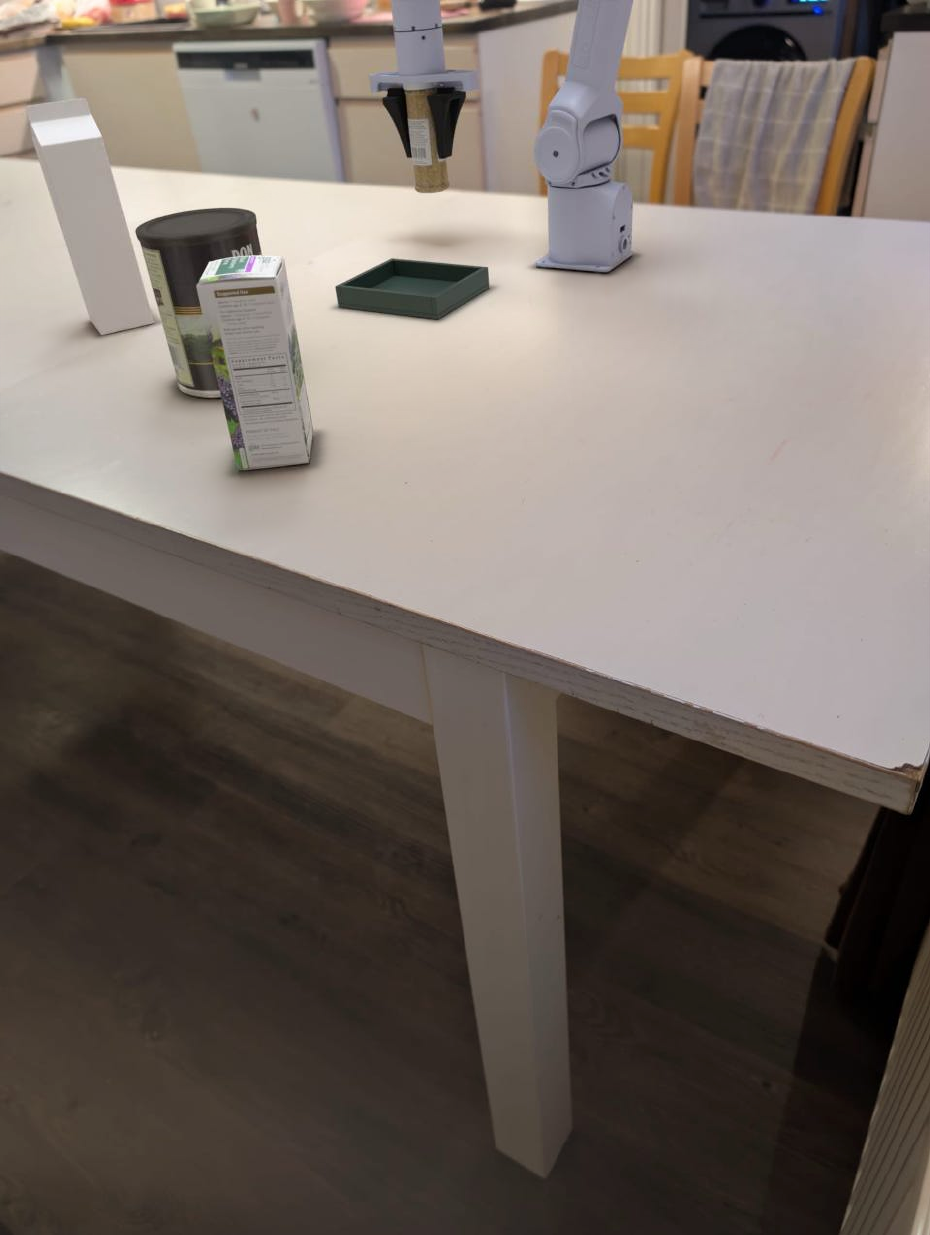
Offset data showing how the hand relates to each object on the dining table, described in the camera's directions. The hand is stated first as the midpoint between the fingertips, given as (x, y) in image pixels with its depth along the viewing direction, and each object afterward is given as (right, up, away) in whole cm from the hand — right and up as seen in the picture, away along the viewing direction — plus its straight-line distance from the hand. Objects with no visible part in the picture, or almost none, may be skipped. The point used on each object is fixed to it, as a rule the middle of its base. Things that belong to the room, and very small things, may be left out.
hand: (429, 156), depth 115 cm
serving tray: (-1, -22, -12) cm, 25 cm away
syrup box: (-11, -45, -42) cm, 62 cm away
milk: (-34, -25, -12) cm, 44 cm away
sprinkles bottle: (0, -3, +2) cm, 4 cm away
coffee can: (-18, -35, -28) cm, 48 cm away
